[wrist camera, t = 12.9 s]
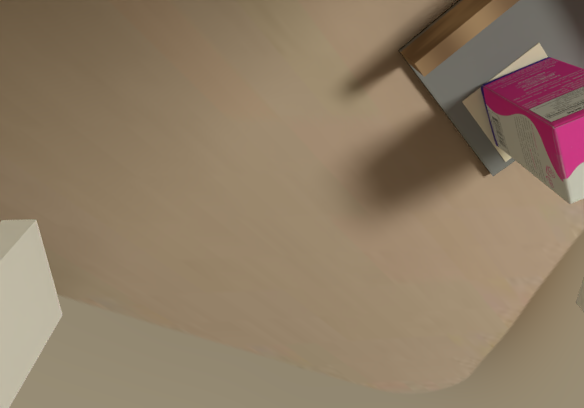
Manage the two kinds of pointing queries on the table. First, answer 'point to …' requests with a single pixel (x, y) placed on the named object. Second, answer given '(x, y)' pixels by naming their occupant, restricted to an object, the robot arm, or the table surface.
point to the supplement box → (542, 122)
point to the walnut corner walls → (452, 32)
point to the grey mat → (503, 65)
